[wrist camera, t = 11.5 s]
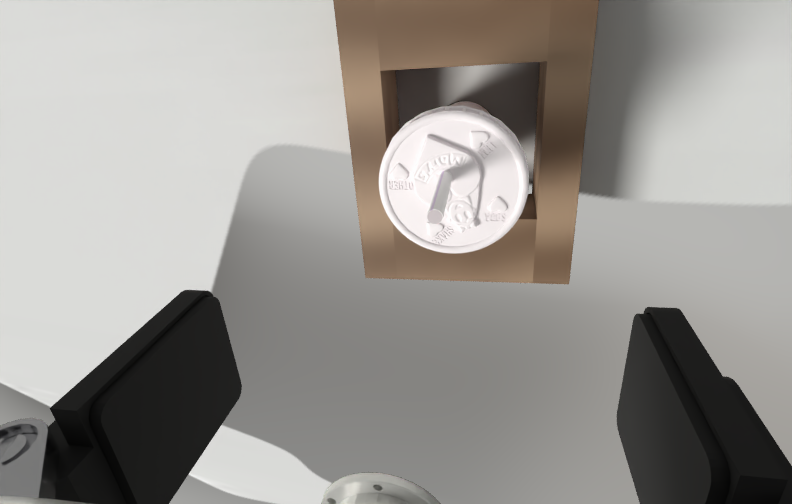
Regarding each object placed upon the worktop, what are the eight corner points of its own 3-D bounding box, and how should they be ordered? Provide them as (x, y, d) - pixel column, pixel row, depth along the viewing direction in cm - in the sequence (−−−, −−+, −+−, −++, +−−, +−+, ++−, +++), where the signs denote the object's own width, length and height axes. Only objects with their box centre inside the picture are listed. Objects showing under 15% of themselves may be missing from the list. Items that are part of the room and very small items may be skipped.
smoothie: (495, 56, 26) (497, 102, 14) (534, 160, 28) (566, 279, 16) (393, 105, 28) (317, 182, 16) (437, 199, 31) (399, 329, 18)
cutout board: (560, 252, 31) (568, 284, 27) (379, 249, 33) (365, 277, 30) (587, -37, 23) (603, -44, 20) (353, -15, 26) (331, -18, 22)
